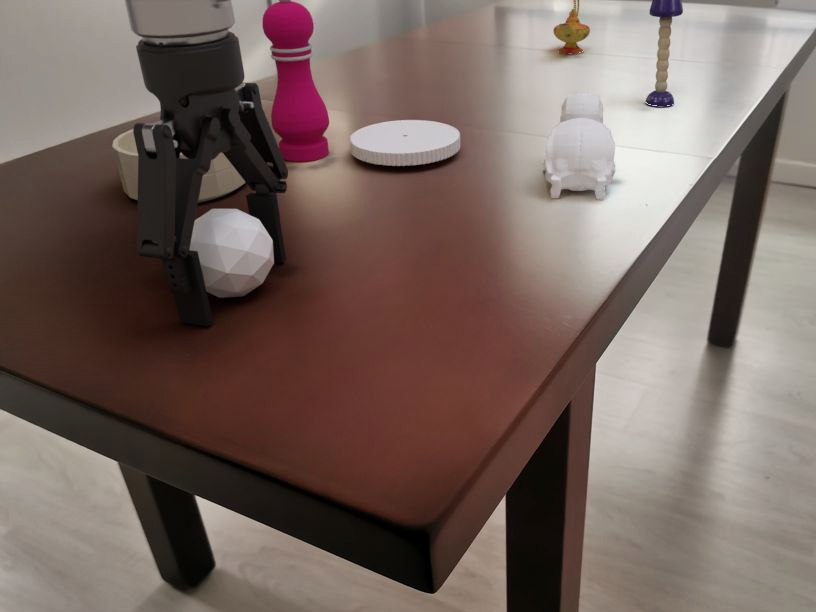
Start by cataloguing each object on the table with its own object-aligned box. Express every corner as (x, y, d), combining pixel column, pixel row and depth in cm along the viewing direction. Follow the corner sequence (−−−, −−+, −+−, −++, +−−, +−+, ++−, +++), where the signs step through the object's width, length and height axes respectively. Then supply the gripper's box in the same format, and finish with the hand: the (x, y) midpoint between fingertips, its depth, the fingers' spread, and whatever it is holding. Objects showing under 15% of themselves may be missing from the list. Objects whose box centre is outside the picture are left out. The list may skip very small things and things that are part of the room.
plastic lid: (331, 166, 100) (329, 146, 99) (381, 134, 111) (380, 116, 110) (434, 179, 96) (433, 158, 94) (476, 144, 107) (476, 125, 105)
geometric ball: (241, 306, 76) (257, 223, 76) (279, 307, 70) (296, 217, 70) (161, 288, 71) (178, 200, 72) (193, 287, 65) (212, 191, 65)
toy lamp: (652, 109, 119) (665, -14, 110) (634, 102, 123) (645, -18, 114) (679, 105, 121) (693, -16, 112) (661, 98, 124) (673, -20, 115)
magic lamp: (542, 63, 145) (544, -3, 140) (559, 42, 160) (561, -18, 154) (580, 65, 144) (583, -2, 138) (594, 44, 158) (597, -17, 153)
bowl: (99, 201, 92) (84, 150, 89) (173, 161, 103) (163, 114, 100) (206, 214, 88) (195, 161, 85) (271, 171, 99) (264, 122, 96)
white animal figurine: (614, 221, 92) (615, 135, 100) (620, 163, 85) (621, 76, 94) (538, 218, 93) (546, 134, 101) (539, 161, 86) (547, 75, 95)
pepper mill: (295, 167, 100) (271, -6, 90) (266, 154, 105) (240, -13, 94) (343, 154, 104) (326, -14, 94) (313, 142, 109) (294, -20, 98)
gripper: (124, 73, 50) (195, 365, 62) (305, 8, 70) (333, 239, 81) (27, 68, 52) (113, 351, 64) (229, 6, 72) (267, 232, 83)
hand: (237, 289), depth 72 cm, fingers open, 12 cm apart
